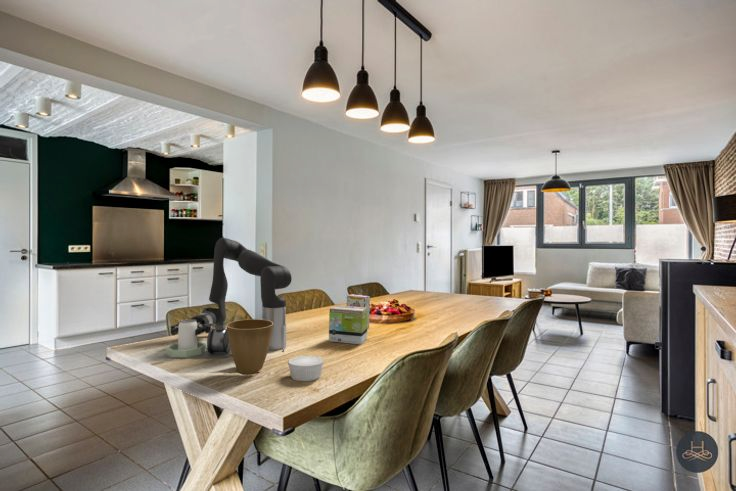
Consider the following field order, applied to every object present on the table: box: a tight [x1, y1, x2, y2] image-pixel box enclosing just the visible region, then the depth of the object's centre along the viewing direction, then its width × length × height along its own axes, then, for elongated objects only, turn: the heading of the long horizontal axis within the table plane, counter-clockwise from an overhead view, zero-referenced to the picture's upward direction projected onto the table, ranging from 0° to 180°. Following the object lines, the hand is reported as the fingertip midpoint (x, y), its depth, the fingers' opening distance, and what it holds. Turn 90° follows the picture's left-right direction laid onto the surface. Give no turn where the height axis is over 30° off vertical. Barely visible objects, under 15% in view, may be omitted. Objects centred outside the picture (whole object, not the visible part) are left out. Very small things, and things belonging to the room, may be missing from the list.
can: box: [177, 318, 198, 350], centre depth 149 cm, size 6×6×12 cm
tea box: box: [328, 304, 368, 346], centre depth 174 cm, size 15×10×15 cm, turn 76°
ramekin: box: [287, 355, 324, 382], centre depth 128 cm, size 11×11×5 cm
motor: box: [206, 322, 231, 353], centre depth 150 cm, size 7×9×11 cm
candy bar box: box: [346, 293, 371, 330], centre depth 201 cm, size 11×5×16 cm, turn 58°
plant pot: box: [226, 318, 273, 376], centre depth 132 cm, size 15×15×16 cm
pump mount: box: [158, 340, 232, 359], centre depth 149 cm, size 24×14×4 cm, turn 93°
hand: (184, 332), depth 147 cm, fingers open, 8 cm apart
